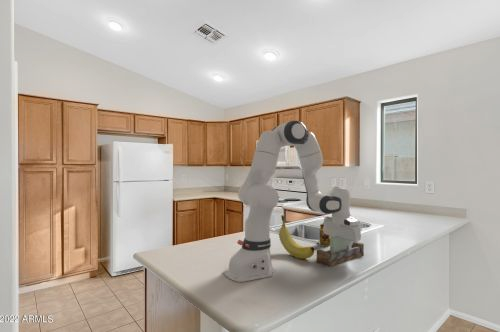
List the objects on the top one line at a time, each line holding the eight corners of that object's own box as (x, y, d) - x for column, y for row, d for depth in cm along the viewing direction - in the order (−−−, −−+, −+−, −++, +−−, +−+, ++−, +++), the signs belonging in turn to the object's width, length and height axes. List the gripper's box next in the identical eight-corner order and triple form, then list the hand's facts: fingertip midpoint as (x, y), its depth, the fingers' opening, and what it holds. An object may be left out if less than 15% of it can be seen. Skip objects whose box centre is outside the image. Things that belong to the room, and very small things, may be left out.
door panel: (333, 258, 131) (333, 238, 131) (330, 257, 133) (330, 237, 133) (351, 253, 139) (351, 234, 139) (347, 252, 141) (347, 233, 141)
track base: (328, 266, 125) (328, 253, 125) (316, 262, 131) (316, 250, 131) (363, 255, 141) (363, 243, 141) (351, 251, 147) (351, 240, 147)
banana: (317, 261, 133) (317, 220, 133) (310, 263, 129) (309, 222, 129) (284, 250, 150) (284, 214, 150) (276, 252, 147) (276, 215, 147)
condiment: (323, 246, 156) (322, 226, 156) (315, 242, 164) (315, 223, 164) (333, 245, 158) (333, 225, 158) (325, 241, 166) (325, 222, 166)
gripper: (320, 216, 143) (320, 242, 143) (354, 223, 126) (354, 253, 126) (328, 215, 146) (328, 240, 146) (362, 221, 129) (362, 250, 129)
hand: (340, 246), depth 136 cm, fingers open, 8 cm apart
